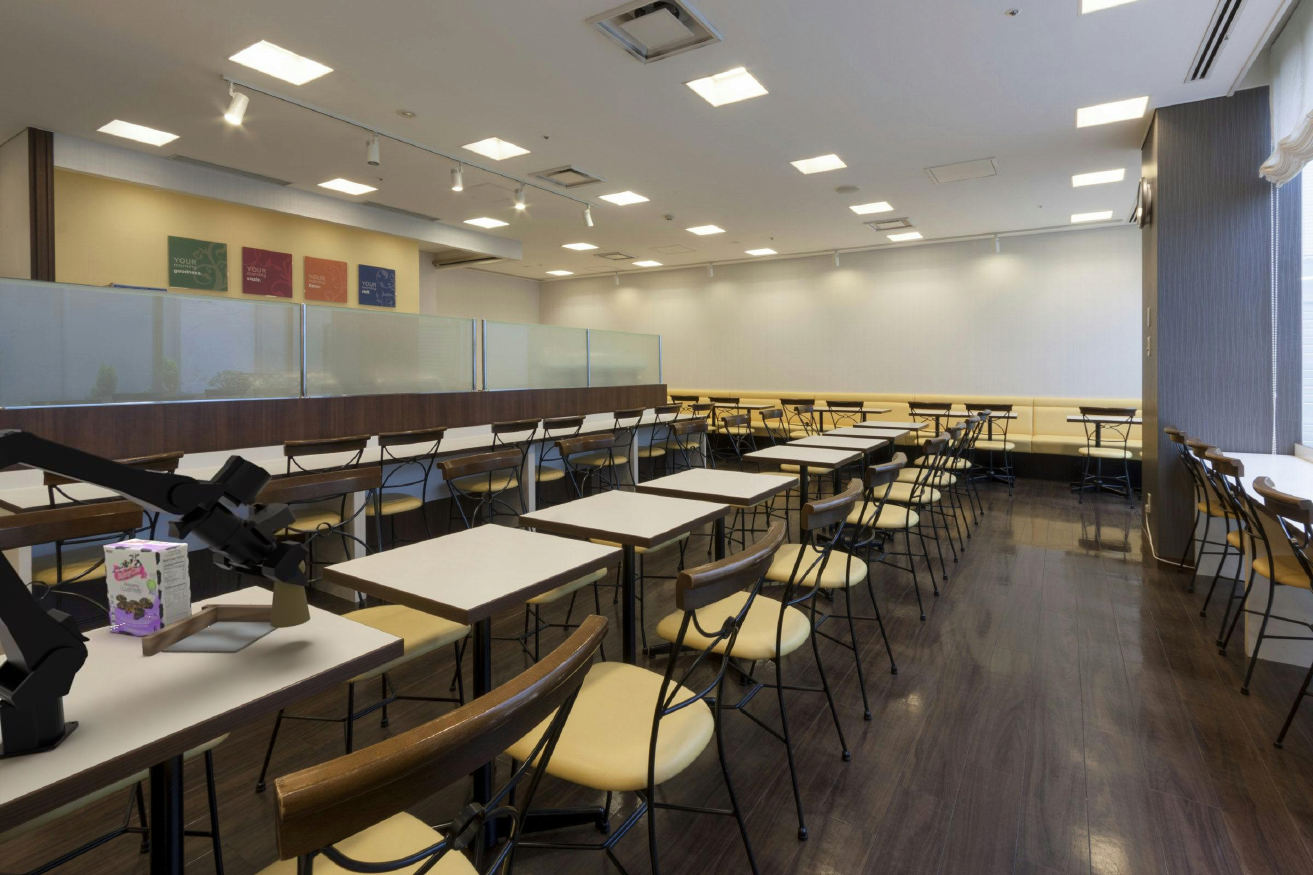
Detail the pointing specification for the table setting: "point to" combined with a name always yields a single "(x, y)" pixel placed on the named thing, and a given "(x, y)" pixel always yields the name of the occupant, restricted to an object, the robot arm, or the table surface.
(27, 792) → the table surface
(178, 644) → the wood edged grey tray
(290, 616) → the cork
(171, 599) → the candy box
